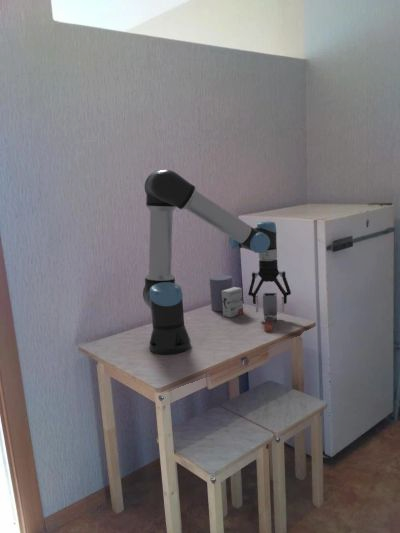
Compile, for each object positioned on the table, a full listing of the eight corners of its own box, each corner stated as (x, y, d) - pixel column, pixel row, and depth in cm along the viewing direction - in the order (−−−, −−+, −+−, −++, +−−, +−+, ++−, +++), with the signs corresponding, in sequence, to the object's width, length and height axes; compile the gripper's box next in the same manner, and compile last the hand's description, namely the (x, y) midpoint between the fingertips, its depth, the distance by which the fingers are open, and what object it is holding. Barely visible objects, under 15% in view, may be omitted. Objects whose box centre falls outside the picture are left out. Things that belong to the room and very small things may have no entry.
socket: (263, 314, 197) (262, 296, 196) (264, 311, 202) (263, 293, 201) (276, 314, 196) (276, 296, 195) (277, 311, 201) (276, 292, 200)
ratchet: (261, 331, 186) (260, 312, 184) (264, 318, 203) (263, 299, 201) (275, 331, 185) (274, 311, 183) (277, 317, 202) (276, 299, 200)
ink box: (235, 311, 216) (234, 286, 213) (243, 313, 212) (242, 287, 210) (222, 316, 210) (220, 290, 208) (230, 318, 206) (228, 291, 204)
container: (207, 310, 221) (205, 279, 218) (220, 304, 229) (218, 274, 226) (224, 313, 214) (222, 280, 212) (238, 307, 222) (236, 276, 219)
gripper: (239, 261, 194) (242, 313, 198) (296, 260, 189) (297, 313, 193) (241, 258, 201) (244, 308, 205) (296, 256, 196) (297, 308, 200)
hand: (270, 311), depth 199 cm, fingers open, 10 cm apart
